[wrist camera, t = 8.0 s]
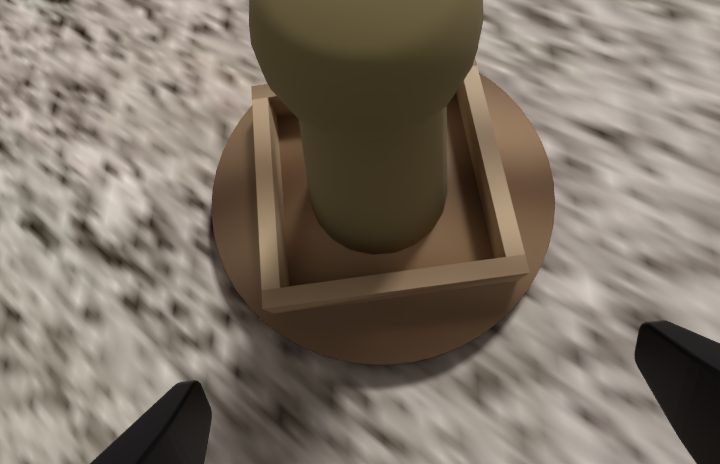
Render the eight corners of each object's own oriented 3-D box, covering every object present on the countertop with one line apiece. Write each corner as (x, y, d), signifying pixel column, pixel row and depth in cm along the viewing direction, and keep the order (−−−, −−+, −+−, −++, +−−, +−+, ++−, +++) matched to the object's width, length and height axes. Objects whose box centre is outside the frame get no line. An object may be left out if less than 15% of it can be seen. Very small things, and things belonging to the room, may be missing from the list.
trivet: (589, 339, 17) (623, 335, 14) (223, 387, 17) (195, 390, 15) (503, 40, 21) (518, -2, 19) (217, 84, 22) (195, 48, 19)
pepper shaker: (281, 197, 19) (140, -20, 8) (370, 105, 20) (346, -190, 9) (386, 284, 17) (378, 156, 7) (475, 179, 18) (589, -73, 8)
